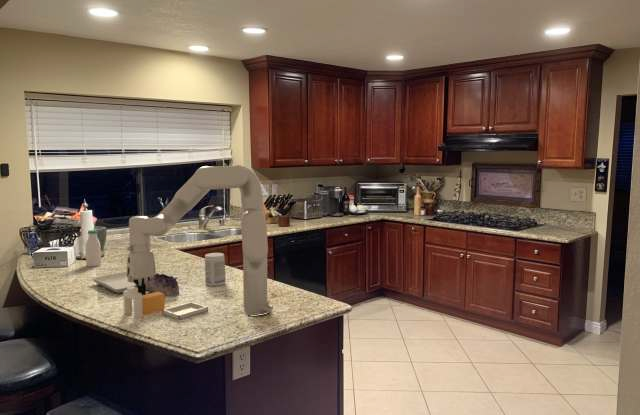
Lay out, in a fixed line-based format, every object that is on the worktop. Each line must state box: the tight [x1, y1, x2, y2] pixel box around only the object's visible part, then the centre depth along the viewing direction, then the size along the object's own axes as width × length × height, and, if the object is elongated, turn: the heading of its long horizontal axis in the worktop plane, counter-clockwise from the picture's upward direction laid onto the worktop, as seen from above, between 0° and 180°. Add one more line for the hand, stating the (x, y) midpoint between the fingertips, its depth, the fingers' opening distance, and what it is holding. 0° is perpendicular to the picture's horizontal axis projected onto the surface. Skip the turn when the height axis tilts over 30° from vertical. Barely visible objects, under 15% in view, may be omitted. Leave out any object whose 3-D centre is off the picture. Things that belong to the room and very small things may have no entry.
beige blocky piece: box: [122, 286, 144, 320], centre depth 187 cm, size 8×3×11 cm, turn 51°
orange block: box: [142, 292, 166, 316], centre depth 194 cm, size 4×9×6 cm, turn 141°
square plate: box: [91, 271, 157, 294], centre depth 237 cm, size 27×27×4 cm
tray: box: [161, 301, 209, 321], centre depth 192 cm, size 11×14×2 cm
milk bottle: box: [85, 229, 102, 268], centre depth 275 cm, size 8×8×20 cm
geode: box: [146, 272, 180, 298], centre depth 221 cm, size 20×12×10 cm, turn 47°
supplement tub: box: [204, 252, 226, 287], centre depth 238 cm, size 10×10×15 cm
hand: (141, 294), depth 190 cm, fingers closed
